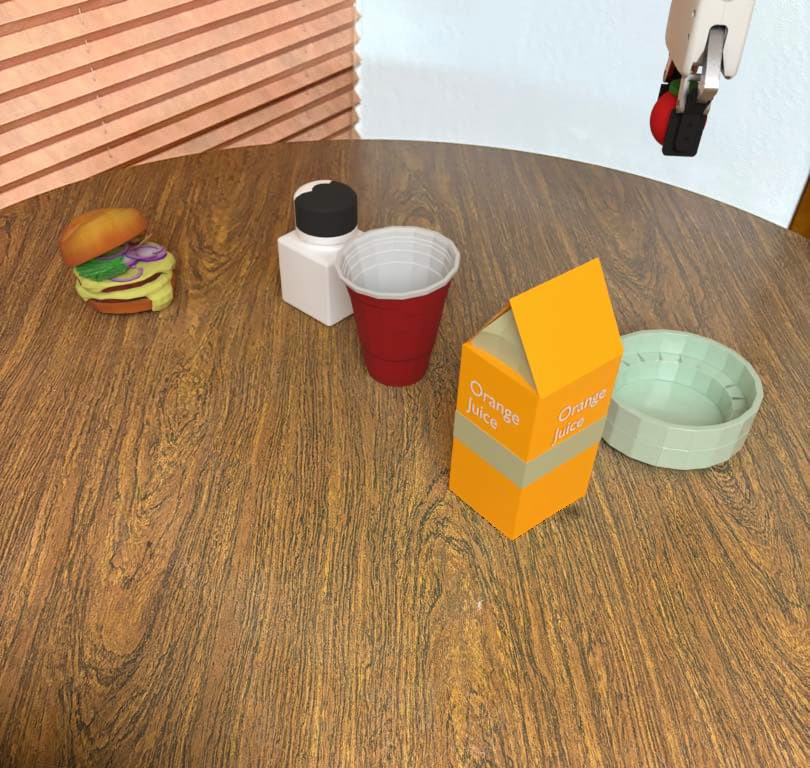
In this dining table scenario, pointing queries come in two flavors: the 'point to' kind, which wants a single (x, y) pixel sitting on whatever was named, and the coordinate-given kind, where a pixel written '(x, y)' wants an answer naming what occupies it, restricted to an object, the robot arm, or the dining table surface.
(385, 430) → the dining table surface
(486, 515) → the orange juice
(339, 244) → the medicine bottle
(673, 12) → the robot arm
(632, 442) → the bowl
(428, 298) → the plastic cup
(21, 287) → the dining table surface
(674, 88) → the red tomato
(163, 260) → the cheeseburger
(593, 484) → the dining table surface
